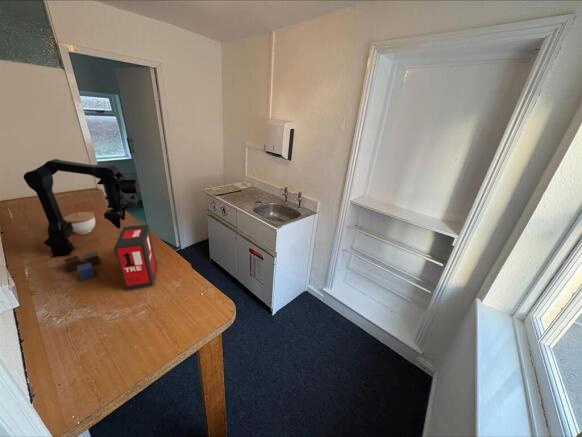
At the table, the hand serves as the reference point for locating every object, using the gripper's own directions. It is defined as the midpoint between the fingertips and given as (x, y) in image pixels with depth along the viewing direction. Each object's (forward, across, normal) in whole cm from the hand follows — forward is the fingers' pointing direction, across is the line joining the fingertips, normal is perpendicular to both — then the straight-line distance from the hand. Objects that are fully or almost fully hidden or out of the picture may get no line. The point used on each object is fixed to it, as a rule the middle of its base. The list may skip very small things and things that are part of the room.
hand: (121, 224), depth 111 cm
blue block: (+14, -19, +11) cm, 26 cm away
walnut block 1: (+14, -12, +17) cm, 25 cm away
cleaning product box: (+14, -25, -10) cm, 31 cm away
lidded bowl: (+14, +26, +25) cm, 38 cm away
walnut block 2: (+14, -10, +11) cm, 20 cm away
